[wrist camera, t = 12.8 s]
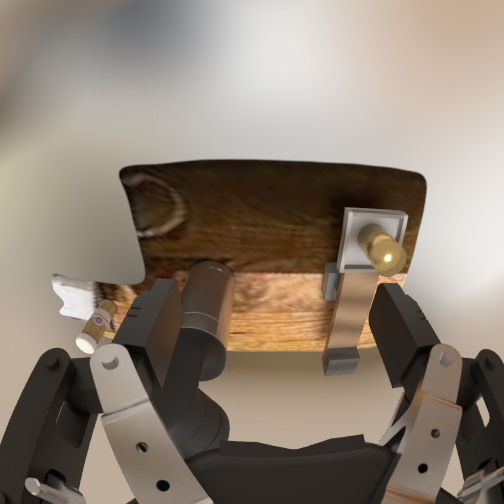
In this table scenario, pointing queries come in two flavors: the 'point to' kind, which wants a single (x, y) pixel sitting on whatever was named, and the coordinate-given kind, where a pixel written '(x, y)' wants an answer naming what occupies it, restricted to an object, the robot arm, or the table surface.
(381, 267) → the brass weight
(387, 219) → the seesaw
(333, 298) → the beam stand
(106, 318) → the sprinkles bottle
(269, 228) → the table surface
